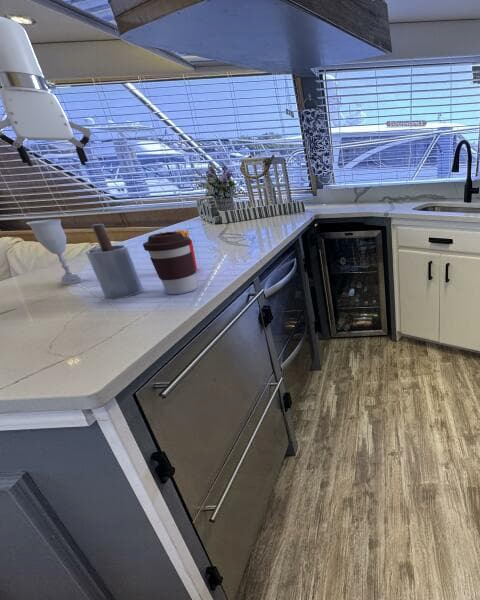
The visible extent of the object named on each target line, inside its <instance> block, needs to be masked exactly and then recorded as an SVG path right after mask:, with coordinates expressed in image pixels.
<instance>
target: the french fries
mask: <svg viewBox="0 0 480 600" xmlns="http://www.w3.org/2000/svg"><path fill="white" fill-rule="evenodd" d="M166 232H180V233H181V234H182V235H183V236H184V237H189V238H190V233H189V232H190V231H189V229H186V230H184V229H176V230H173V231H172V230H170V231H169V230H168V231H166ZM159 233H163V232H162V231H161V232H159ZM190 241H191V244H190V245H189V247H190V251H191V252H192V256H193V261H194V265H195V270H196V271H197V270H198V267H197V261H196V255H195V250H194V245H193V239H191V238H190Z"/></svg>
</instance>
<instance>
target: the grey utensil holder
mask: <svg viewBox="0 0 480 600" xmlns="http://www.w3.org/2000/svg"><path fill="white" fill-rule="evenodd" d="M112 247H113V250H112V251H106V252H102V250H101V247H100V246H99V247H96V248H92V249H88V250H87V251H85V254H86V256H87V258H88V261H89V264H90V265H91V268H92V270H93V272H94V274H95V277H96V279H97V282H98V284H99V286H100V289H101V290H102V291H101V292H102V293H103V295H104V297H105V298H106V299H120V298H126V297H129V296H134V295H136V294H139V293H141V292H142V291H143V290H144V288H143V284H142V281H141V279H140V277H139V274H138V271H137V268H136V266H135V264H134V261H133V258H132V255H131V253H130V251H129V248H128V246H127V245H126V244H125V245H123V244H116V245H112Z"/></svg>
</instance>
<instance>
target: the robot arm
mask: <svg viewBox="0 0 480 600" xmlns="http://www.w3.org/2000/svg"><path fill="white" fill-rule="evenodd" d="M0 85H1V87H2V89H0V99H1V103H2V106H3V108H4V111H5V114H6V117H7V118H5V119H3V120H1V121H0V140H2V141H3V142H4V143H6V144H8V145H10V146H12V147H14V148H15V149H16V150H17V153H18V156H19V157H20V160H21V161H22V163H23V164H27V166H28V167H33V166H34V165H33V162H32V160H31V158H30V156H29V153H28V151H27V148H25V147H24V144H25V143H26V142H27V141H49V142H50V141H53V142H54V141H58V142H65V141H66V142H69V143H70V144H72V145H73V146H75V151H76V155H77V157H78V159H79V162H80V164H81V166H86V165H87V164H86V163H89V160H88V157H87V154H86V152H85V149H84V148H85V146H86V145H87V144H88V143H89V142H90V138H91V134H92V130H91V129H89V128H87V127H85V126H82V125H79V124H77V123H75V122H72V121H69V120H68V117H67V115H66V113H65V111H64V109H63V108H62V105H61V104H60V102H59V99H58V98H57V97H56V95H55V94H54V93H51V92H52V91H53V90H57V87H56V84H55V82H50V81H48V80H46V79H45V76H44V74H43V71H42V69H41V66H40V64H39V61H38V59H37V56H36V53H35V50H34V49H33V46H32V43H31V41H30V39H29V36H28V34H27V32H26V30H25V28H24V27H23V26H22V25H21V24H20V23H19V22H17V21H16V20H13V19H10V18H7V17H3V16H0ZM50 91H51V92H50ZM9 127H11V128H12V131H13V132H14V134H15V136H16V138H15V139H12V138H10V137H9V136H7V135H6V134H5V133H4V132H2V130H5V129H6V128H9ZM73 130H75V131H78V132H81V133H82V138H81V139H79V140H78V139H76V138H75V137H74V131H73Z"/></svg>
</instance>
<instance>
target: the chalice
mask: <svg viewBox="0 0 480 600" xmlns="http://www.w3.org/2000/svg"><path fill="white" fill-rule="evenodd" d="M61 221H62V220H61V219H59V218H53V219H43V220H42V219H41V220H34V221H28V222H26V224H27V226H29V227H30V228H31V230H32V232H33V234H34V237H35V238H36V240H37V242H38V243H39V244H40V245H41V246H42V247H43V248H45V249H46V250H47V251H48V252H50V254H53V255H57V257H58V262H60V263H61V269H63V270H64V274H63V275H62V276H61V280H60V281H61V282H60V285H63V286H65V285H73V284H78V283H80V282H83V281H84V280H85V279H84V278H82V276H80V275H79V274H78V273H76V272H72V271H71V270H70V268H69V267H70V265H69V264H67V262H66V261H67V259H66V258H65V257H64V256H63V253H65V252H66V248H67V235H66V233H65V231H64V228H63V227H62V222H61Z"/></svg>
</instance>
